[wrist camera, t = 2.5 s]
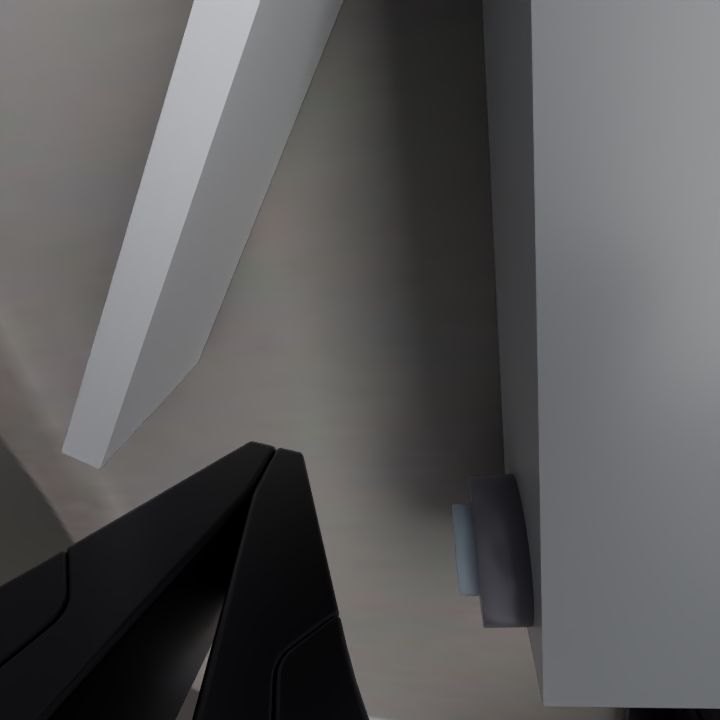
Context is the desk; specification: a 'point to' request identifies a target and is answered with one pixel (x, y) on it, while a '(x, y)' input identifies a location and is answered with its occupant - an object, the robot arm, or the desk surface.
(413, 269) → the desk surface
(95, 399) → the door
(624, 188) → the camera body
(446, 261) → the desk surface
